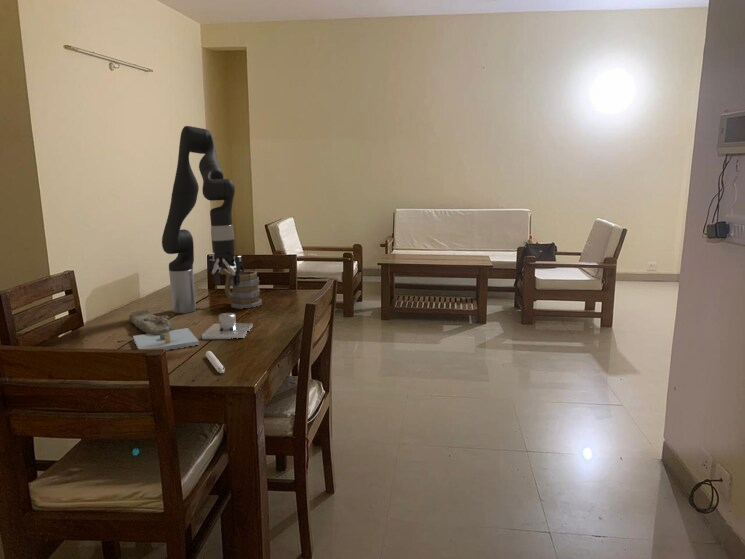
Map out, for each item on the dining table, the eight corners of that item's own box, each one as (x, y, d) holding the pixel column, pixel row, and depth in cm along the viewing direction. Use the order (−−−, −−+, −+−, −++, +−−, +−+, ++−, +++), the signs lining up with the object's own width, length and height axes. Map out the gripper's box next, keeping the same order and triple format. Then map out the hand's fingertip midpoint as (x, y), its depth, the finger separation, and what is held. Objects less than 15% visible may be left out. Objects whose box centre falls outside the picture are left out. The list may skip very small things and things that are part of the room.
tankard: (267, 303, 237) (265, 269, 234) (246, 310, 227) (244, 274, 224) (234, 298, 248) (232, 265, 245) (212, 304, 237) (210, 270, 234)
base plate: (133, 340, 188) (132, 327, 187) (188, 332, 196) (187, 319, 196) (140, 354, 172) (138, 341, 172) (199, 345, 181) (198, 332, 180)
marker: (226, 374, 155) (226, 366, 154) (219, 376, 154) (218, 368, 153) (212, 356, 170) (211, 349, 170) (205, 357, 169) (205, 350, 169)
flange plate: (202, 339, 188) (200, 320, 186) (214, 327, 201) (213, 310, 200) (243, 338, 187) (242, 319, 186) (252, 327, 201) (251, 309, 200)
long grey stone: (150, 319, 220) (124, 324, 214) (148, 306, 219) (122, 311, 213) (179, 333, 192) (149, 339, 186) (177, 318, 191) (147, 324, 185)
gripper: (246, 237, 189) (250, 284, 192) (214, 236, 195) (218, 282, 198) (231, 240, 182) (235, 288, 185) (199, 239, 189) (203, 285, 192)
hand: (226, 285), depth 192 cm, fingers open, 8 cm apart
